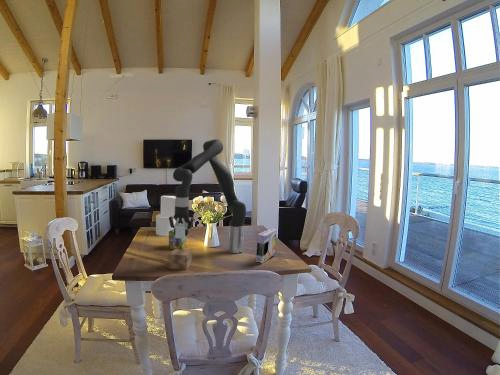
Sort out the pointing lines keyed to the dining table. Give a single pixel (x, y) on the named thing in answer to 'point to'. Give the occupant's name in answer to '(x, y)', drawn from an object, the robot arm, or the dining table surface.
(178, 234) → the block
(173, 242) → the green tin canister
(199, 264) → the dining table surface
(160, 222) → the white stepped tower
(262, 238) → the cake pan box
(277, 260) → the dining table surface
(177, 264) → the walnut box
